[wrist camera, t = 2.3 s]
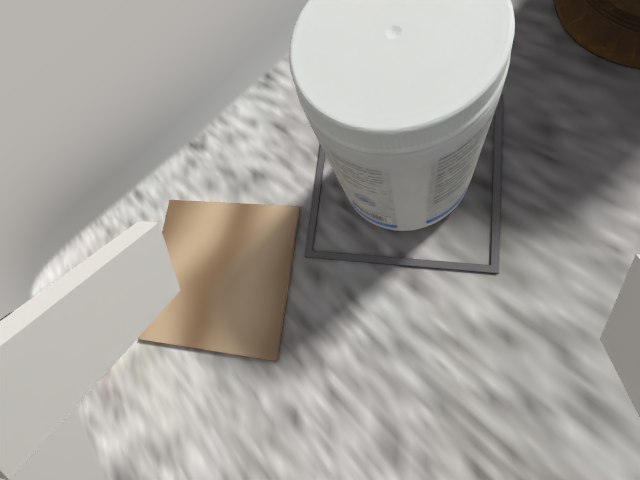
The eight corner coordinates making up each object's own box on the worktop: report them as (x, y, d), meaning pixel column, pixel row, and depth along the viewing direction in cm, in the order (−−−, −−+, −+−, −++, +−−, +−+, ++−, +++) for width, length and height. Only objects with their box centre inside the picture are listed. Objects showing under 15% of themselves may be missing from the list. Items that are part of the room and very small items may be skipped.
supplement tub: (451, 107, 30) (486, -95, 16) (485, 218, 27) (564, 92, 13) (332, 139, 32) (271, -18, 18) (353, 247, 29) (301, 161, 15)
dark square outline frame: (502, 95, 29) (502, 94, 29) (498, 273, 26) (498, 273, 26) (327, 99, 33) (326, 98, 33) (305, 256, 30) (304, 256, 30)
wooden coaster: (300, 208, 31) (298, 206, 30) (277, 360, 28) (275, 361, 28) (172, 201, 34) (169, 199, 33) (141, 338, 31) (137, 338, 31)
